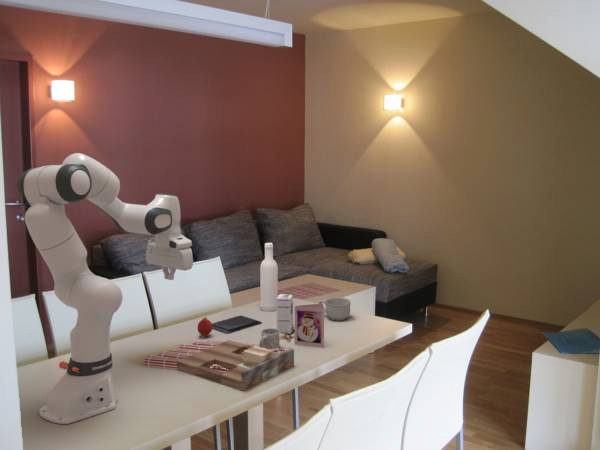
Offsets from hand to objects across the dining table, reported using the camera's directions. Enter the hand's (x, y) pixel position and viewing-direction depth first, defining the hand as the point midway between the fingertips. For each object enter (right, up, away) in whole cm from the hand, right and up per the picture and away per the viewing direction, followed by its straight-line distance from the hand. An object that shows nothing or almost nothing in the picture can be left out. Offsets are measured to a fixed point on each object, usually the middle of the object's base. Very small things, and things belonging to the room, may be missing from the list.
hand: (169, 279), depth 220 cm
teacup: (+60, -21, +52) cm, 82 cm away
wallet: (+18, -23, +43) cm, 52 cm away
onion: (+8, -25, +28) cm, 38 cm away
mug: (+34, -27, +13) cm, 45 cm away
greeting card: (+50, -26, +20) cm, 60 cm away
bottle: (+32, -19, +65) cm, 74 cm away
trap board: (+24, -30, -4) cm, 38 cm away
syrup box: (+39, -24, +35) cm, 58 cm away
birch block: (+32, -28, -10) cm, 43 cm away
